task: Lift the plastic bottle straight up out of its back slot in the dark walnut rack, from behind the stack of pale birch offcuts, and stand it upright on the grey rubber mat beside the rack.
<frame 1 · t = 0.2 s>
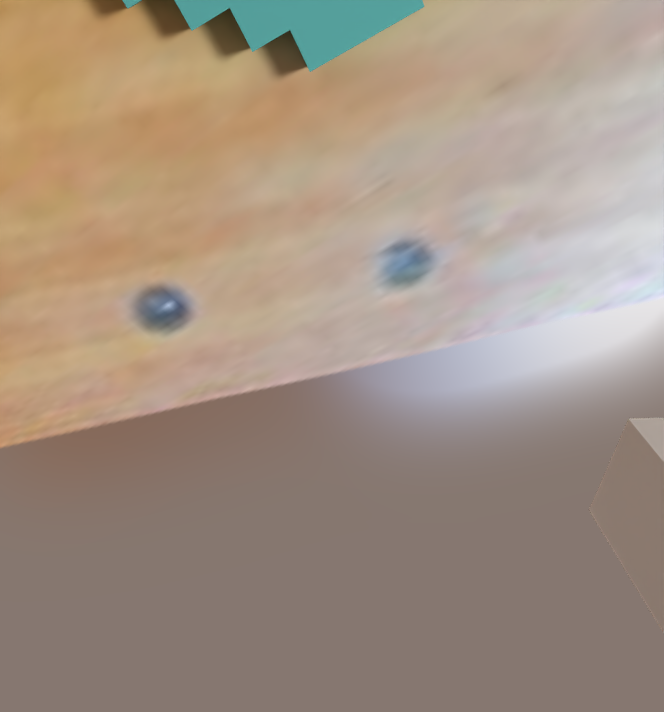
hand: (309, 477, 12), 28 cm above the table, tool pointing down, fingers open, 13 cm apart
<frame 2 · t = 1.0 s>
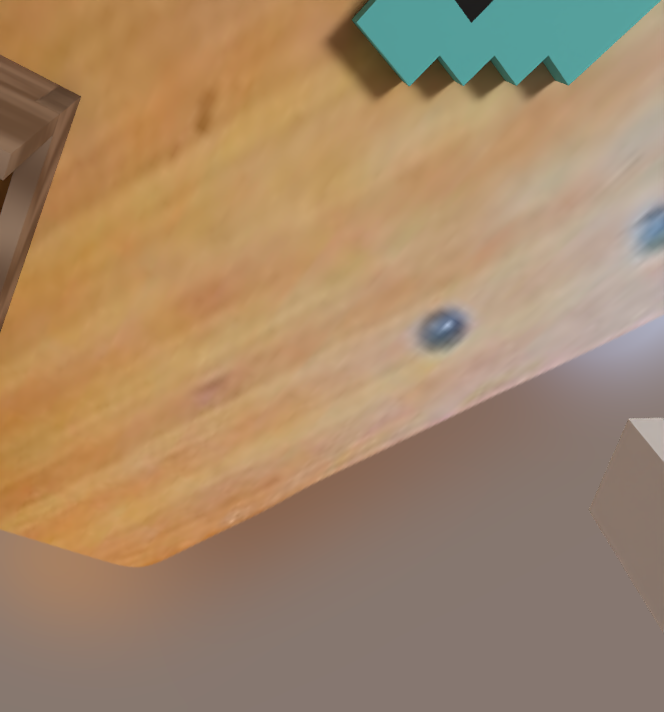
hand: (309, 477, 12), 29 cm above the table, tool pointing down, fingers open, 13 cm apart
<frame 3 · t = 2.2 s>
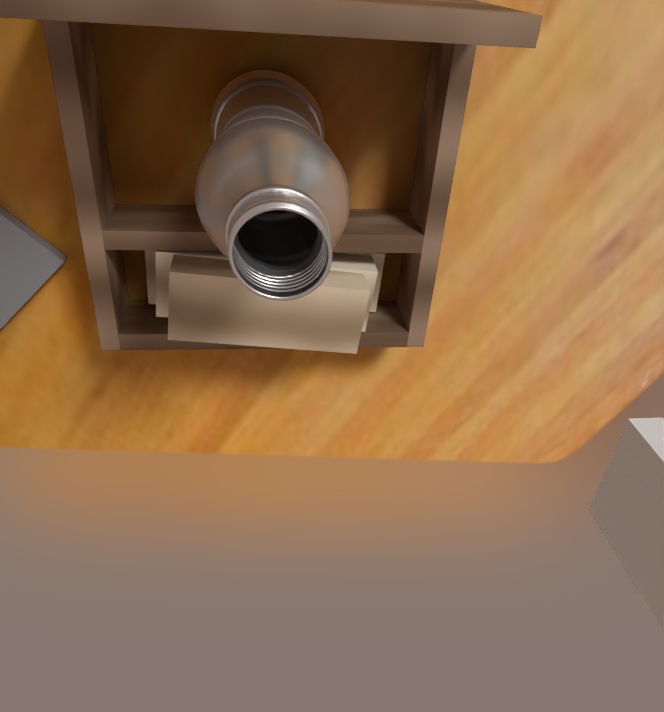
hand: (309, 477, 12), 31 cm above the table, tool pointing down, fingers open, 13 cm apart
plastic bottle: (266, 119, 37), on the table
offcut bottom: (266, 263, 43), on the table, touching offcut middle
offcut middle: (266, 276, 41), point 2 cm above the table, touching offcut bottom
walnut rack: (266, 168, 39), on the table
offcut top: (267, 296, 39), point 5 cm above the table
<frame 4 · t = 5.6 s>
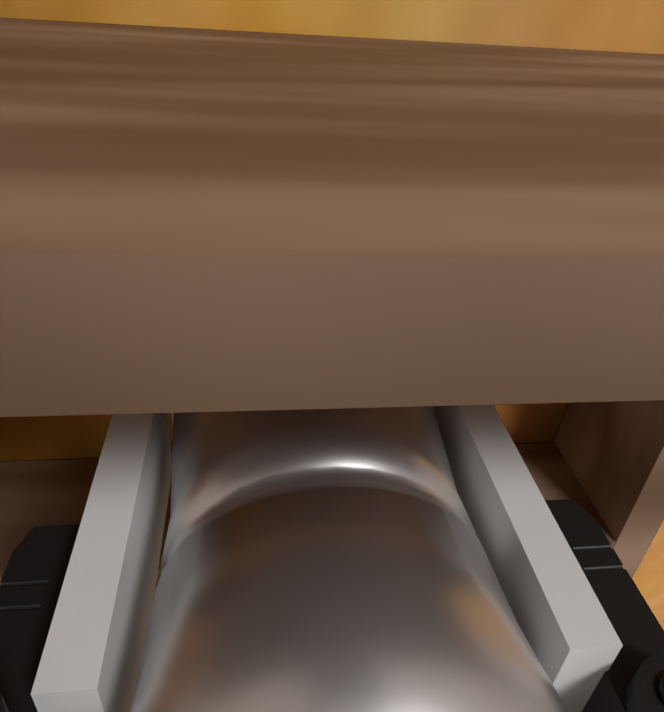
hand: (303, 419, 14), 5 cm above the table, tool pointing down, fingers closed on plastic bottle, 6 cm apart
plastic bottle: (290, 308, 18), on the table, touching gripper
walnut rack: (288, 391, 19), on the table
when the fingers open (7 cm above the table, at t = 13.8 s): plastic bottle drops 2 cm, resting on grey mat.
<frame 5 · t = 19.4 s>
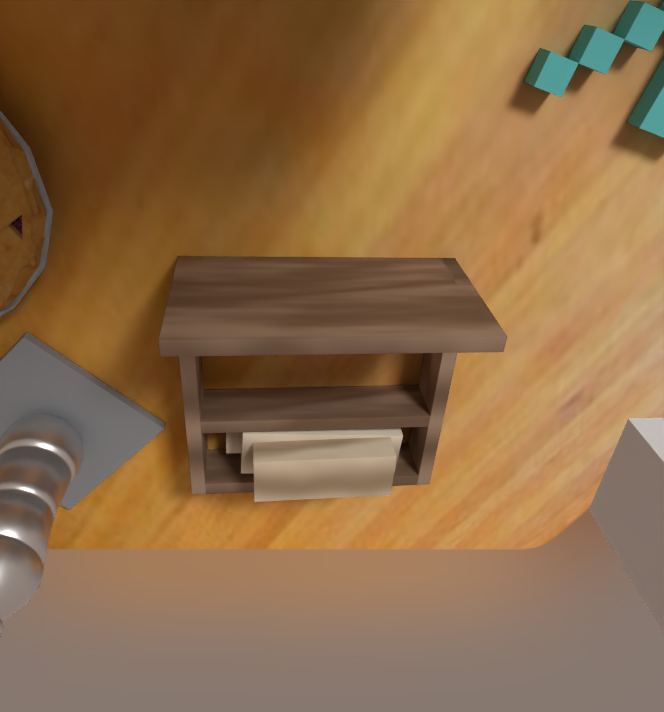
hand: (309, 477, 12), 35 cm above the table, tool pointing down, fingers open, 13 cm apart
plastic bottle: (50, 431, 53), point 1 cm above the table, touching grey mat
offcut bottom: (312, 416, 57), on the table, touching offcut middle
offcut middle: (319, 435, 55), point 2 cm above the table, touching offcut bottom, offcut top
walnut rack: (314, 363, 53), on the table
offcut top: (321, 459, 53), point 5 cm above the table, touching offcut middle
grey mat: (51, 426, 53), on the table
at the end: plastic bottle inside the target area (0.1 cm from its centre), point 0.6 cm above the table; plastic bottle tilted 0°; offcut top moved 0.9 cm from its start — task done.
